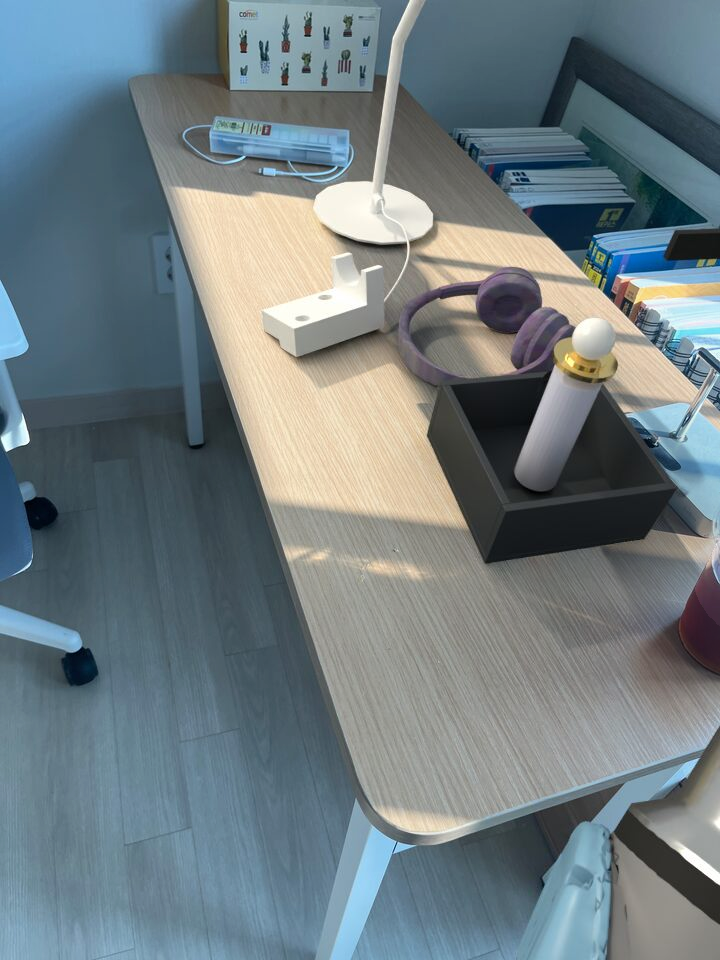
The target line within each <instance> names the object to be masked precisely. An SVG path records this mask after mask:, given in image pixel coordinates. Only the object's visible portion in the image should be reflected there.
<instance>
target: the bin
mask: <svg viewBox="0 0 720 960" xmlns="http://www.w3.org/2000/svg"><path fill="white" fill-rule="evenodd" d="M546 373H547V372H540V373H528V374H516V375H504V376H500V375H493V376H482V377H469V378H468V379H456V380H444V381H440V385H439V386H438V389H437V393H436V397H435V401H434V405H433V409H432V413H431V416H430V421H429V423H428V424H429V425H428V428H427V432H426V437H427V439H428V442H429V444H430V446H431V448H432V450H433V453H434V456H435V457H436V460H437V462H438V464H439V466H440V469H441V470H442V473H443V475H444V477H445V480H446V481H447V485H448V486H449V488H450V491H451V492H452V495H453V497H454V500H455V501H456V504H457V507H458V508H459V510H460V513H461V515H462V517H463V519H464V521H465V524H466V526H467V528H468V531H469V533H470V535H471V537H472V539H473V541H474V543H475V546H476V548H477V550H478V552H479V554H480V557H481V559H482V561H483V564H484V565H489V564H495V563H501V562H507V561H513V560H514V561H515V560H520V559H527V558H533V557H539V556H547V555H551V554H552V555H553V554H558V553H567V552H571V551H578V550H585V549H586V550H587V549H592V548H598V547H604V546H611V545H618V544H624V543H631V542H638V541H644V540H645V539H646V538H647V537H648V535H649V534H650V532H651V530H652V529H653V528H654V526H655V525H656V523H657V521H658V520H659V518H660V516H661V515H662V514H663V512H664V510H665V509H666V507H667V506H668V504H669V503H670V501H671V499H673V496H674V495H675V493H676V492H677V490H678V487H677V485H676V484H675V482H674V481H673V479H672V478H671V476H670V475H669V474H668V472H667V471H666V470H665V469H664V467H663V465H662V464H661V463H660V462H659V460H658V458H657V457H656V455H655V454H654V453H653V451H652V450H651V449H650V447H649V446H648V444H647V443H646V442H645V440H644V439H643V437H642V436H641V435H640V433H639V432H638V430H637V429H636V427H635V426H634V425H633V423H632V422H631V420H630V419H629V418H628V416H627V414H626V413H625V412H624V411H623V409H622V408H621V406H620V405H619V404H618V402H617V401H616V399H615V398H614V397H613V395H612V394H611V392H610V391H609V389H608V388H607V387H606V385H605V383H603V384H602V386H601V388H600V390H599V393H598V395H597V397H596V399H595V401H594V403H593V406H592V408H591V410H590V412H589V414H588V416H587V419H586V421H585V423H584V425H583V427H582V430H581V432H580V434H579V436H578V438H577V440H576V443H575V445H574V447H573V449H572V451H571V453H570V456H569V458H568V460H567V462H566V464H565V466H564V469H563V471H562V473H561V475H560V477H559V479H558V482H557V484H556V485H555V487H554V488H552V489H550V490H548V491H535V490H531V489H529V488H527V487H525V486H523V485H522V484H521V483H520V482H519V481H518V480H517V478H516V477H515V474H514V468H515V465H516V463H517V460H518V458H519V455H520V453H521V450H522V447H523V445H524V442H525V440H526V437H527V435H528V432H529V430H530V427H531V424H532V422H533V419H534V417H535V414H536V412H537V409H538V407H539V404H540V401H541V399H542V396H543V394H544V391H545V389H546V386H547V385H546V386H544V387H542V388H541V389H540V390H539V391H538V389H539V386H540V383H541V381H542V378H543V376H544V375H545V374H546ZM548 378H549V377H548ZM545 380H546V379H545ZM548 380H549V379H548ZM543 383H544V381H543ZM546 384H547V383H546ZM544 385H545V384H544ZM541 386H542V385H541ZM537 391H538V392H537ZM536 395H537V396H536Z"/></svg>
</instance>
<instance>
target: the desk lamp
mask: <svg viewBox="0 0 720 960" xmlns="http://www.w3.org/2000/svg"><path fill="white" fill-rule="evenodd" d="M426 1H427V0H409V1H408V2H407V6H406V8H405V10H404V12H403V15H402V17H401V19H400V21H399V23H398V25H397V27H396V30H395V32H394V34H393V36H392V41H391V47H390V48H391V49H390V55H389V61H388V69H387V74H386V75H387V76H386V83H385V90H384V98H383V105H382V113H381V119H380V127H379V134H378V139H377V148H376V149H377V150H376V154H375V155H376V156H375V162H374V169H373V177H372V181H369V180H367V181H364V180H363V181H344V182H341V183H337V184H333V185H329V186H326V188H324V189H323V190H322V191H320V192H319V193H318V194H316V196H315V199H314V203H313V206H312V209H313V211H314V213H315V215H316V217H317V219H318V221H319V222H320V223H321V224H323V225H324V226H326V227H327V228H328V229H329V230H331V231H332V232H333V233H335V234H338V235H340V236H343V237H346V238H348V239H351V240H354V241H356V242H361V243H368V244H374V245H382V246H383V245H399V244H403V245H404V244H406V245H407V247H406V248H407V253H406V260H405V263H404V265H403V268H402V269H401V270H402V271H401V273H400V274H399V276H398V278H397V280H396V281H395V284H393V286H392V288H391V290H390V291H389V292H388V293H387V295H386V296H385V297H384V304H385V303H386V302H387V301H388V300H389V298H390V296H391V295H392V294H393V292H394V291H395V289H396V288H397V286H398V285H399V283H400V281H401V279H402V277H403V275H404V273H405V271H406V269H407V267H408V263H409V261H410V254H411V246H410V242H412V241H416V240H418V239H421V238H424V237H425V236H426V235H427V234H428V233H429V232H430V230H431V229H433V225H434V213H433V211H432V210H431V209H430V207H429V206H428V205H427V202H425V201H424V200H422V199H420V198H419V197H418V196H416V195H414V194H413V193H412V192H410V191H407V190H404V189H402V188H399V187H396V186H394V185H391V184H386V183H385V176H386V171H387V163H388V157H389V152H390V150H389V149H390V143H391V138H392V132H393V131H392V130H393V125H394V119H395V110H396V105H397V104H396V103H397V98H398V92H399V91H398V90H399V85H400V84H399V83H400V77H401V70H402V65H403V58H404V50H405V44H406V42H407V40H408V38H409V36H410V34H411V32H412V29H413V27H414V26H415V23H416V21H417V19H418V17H419V16H420V13H421V11H422V9H423V7H424V5H425V2H426Z"/></svg>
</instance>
